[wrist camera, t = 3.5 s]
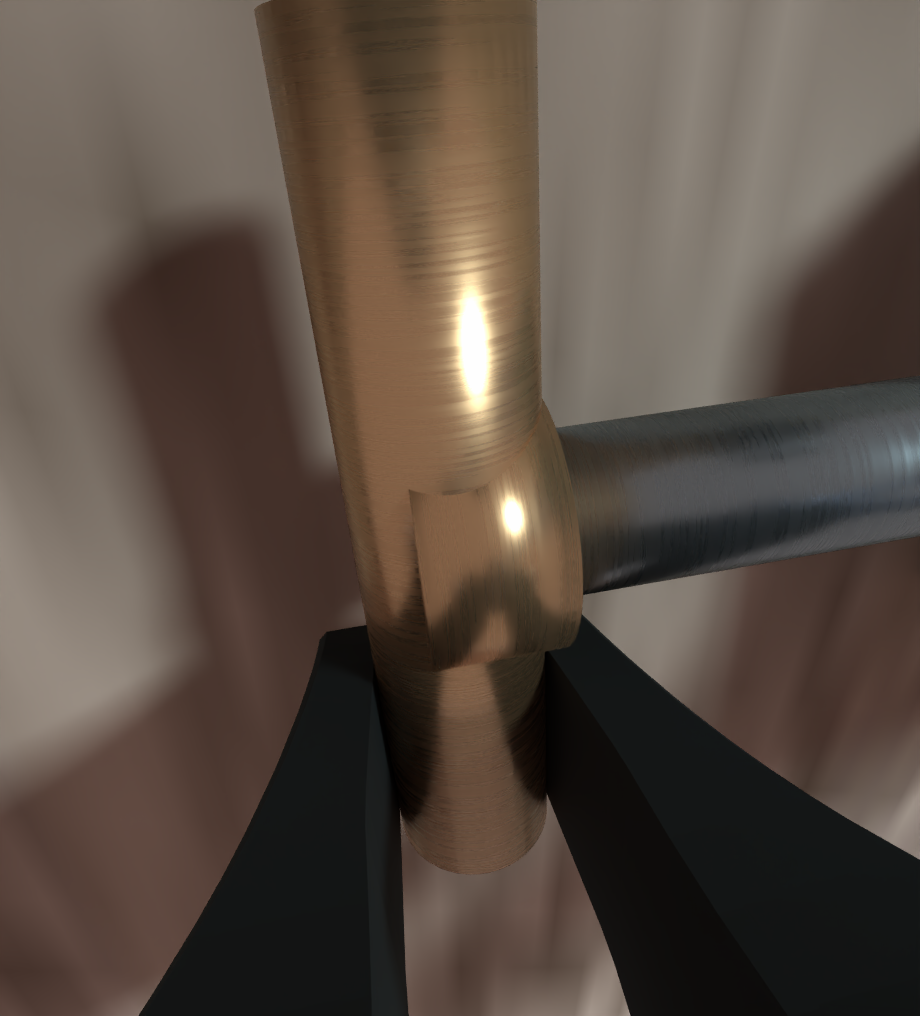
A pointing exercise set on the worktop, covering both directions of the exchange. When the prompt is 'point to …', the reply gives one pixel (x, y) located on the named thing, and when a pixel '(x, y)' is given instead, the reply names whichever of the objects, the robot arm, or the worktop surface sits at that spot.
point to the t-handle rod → (508, 409)
